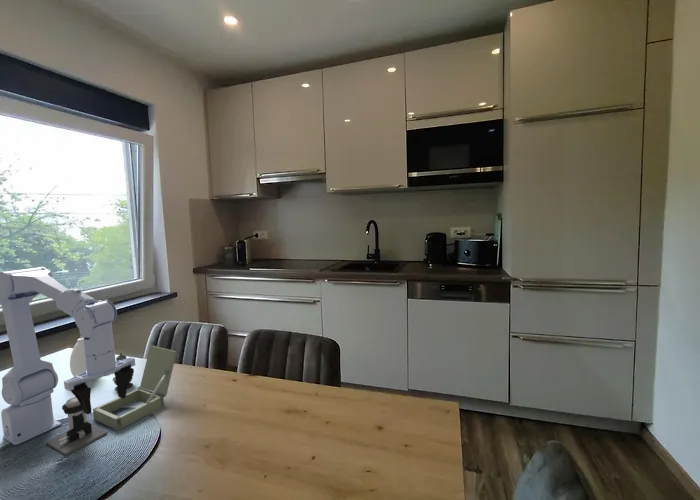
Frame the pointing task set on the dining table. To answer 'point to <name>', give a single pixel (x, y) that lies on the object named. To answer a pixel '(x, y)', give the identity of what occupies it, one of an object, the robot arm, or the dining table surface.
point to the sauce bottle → (78, 358)
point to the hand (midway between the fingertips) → (105, 404)
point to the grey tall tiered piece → (115, 378)
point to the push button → (75, 421)
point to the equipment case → (142, 391)
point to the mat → (72, 446)
